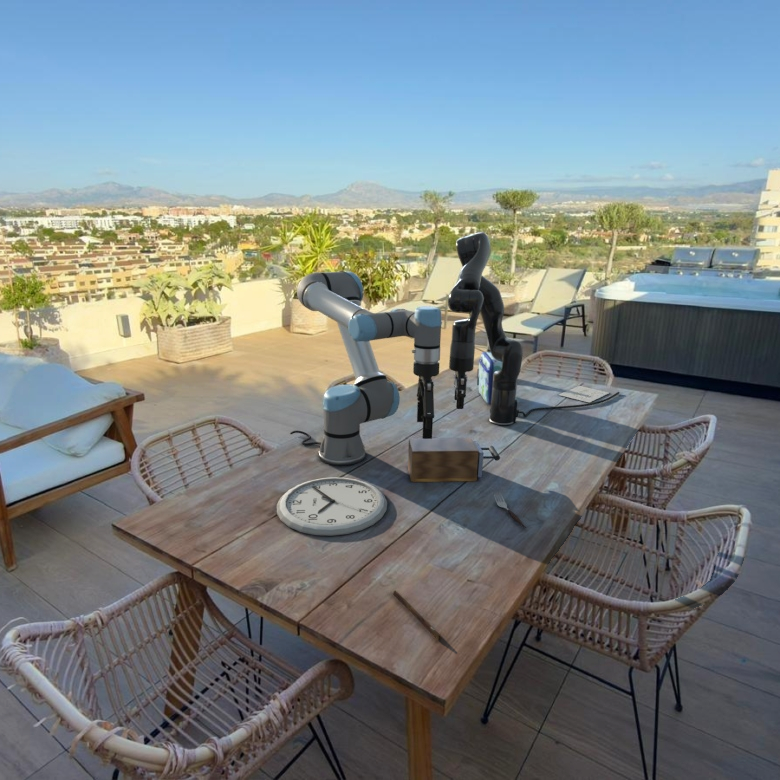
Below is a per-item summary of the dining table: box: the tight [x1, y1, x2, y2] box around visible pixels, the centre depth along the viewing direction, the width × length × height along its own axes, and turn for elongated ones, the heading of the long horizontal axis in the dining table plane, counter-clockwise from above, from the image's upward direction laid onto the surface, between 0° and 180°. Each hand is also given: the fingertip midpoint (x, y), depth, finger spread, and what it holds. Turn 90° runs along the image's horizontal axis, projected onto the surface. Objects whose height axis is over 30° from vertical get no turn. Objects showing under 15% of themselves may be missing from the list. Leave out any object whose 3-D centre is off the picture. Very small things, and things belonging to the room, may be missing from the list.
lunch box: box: [476, 351, 503, 406], centre depth 230 cm, size 26×11×21 cm, turn 179°
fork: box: [493, 492, 526, 529], centre depth 140 cm, size 3×16×2 cm, turn 15°
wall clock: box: [276, 476, 388, 537], centre depth 142 cm, size 30×2×30 cm
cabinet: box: [407, 437, 479, 483], centre depth 161 cm, size 20×10×10 cm, turn 94°
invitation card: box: [558, 385, 610, 404], centre depth 243 cm, size 21×1×15 cm
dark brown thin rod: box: [392, 590, 441, 641], centre depth 102 cm, size 15×1×1 cm, turn 34°
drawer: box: [473, 440, 501, 478], centre depth 161 cm, size 24×9×8 cm, turn 94°
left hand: (424, 429), depth 157 cm, fingers open, 13 cm apart
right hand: (458, 404), depth 166 cm, fingers open, 8 cm apart
